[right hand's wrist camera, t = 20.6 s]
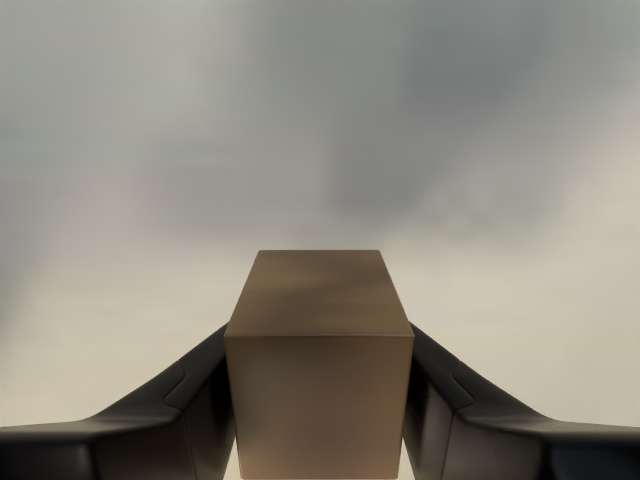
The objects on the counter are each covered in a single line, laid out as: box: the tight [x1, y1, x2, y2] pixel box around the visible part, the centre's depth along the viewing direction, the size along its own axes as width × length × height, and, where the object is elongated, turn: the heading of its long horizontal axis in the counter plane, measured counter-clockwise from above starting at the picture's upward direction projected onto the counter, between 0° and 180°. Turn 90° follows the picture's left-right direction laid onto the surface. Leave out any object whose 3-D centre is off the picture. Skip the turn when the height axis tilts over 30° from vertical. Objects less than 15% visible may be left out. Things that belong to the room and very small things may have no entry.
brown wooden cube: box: [224, 250, 414, 480], centre depth 11 cm, size 4×5×5 cm
